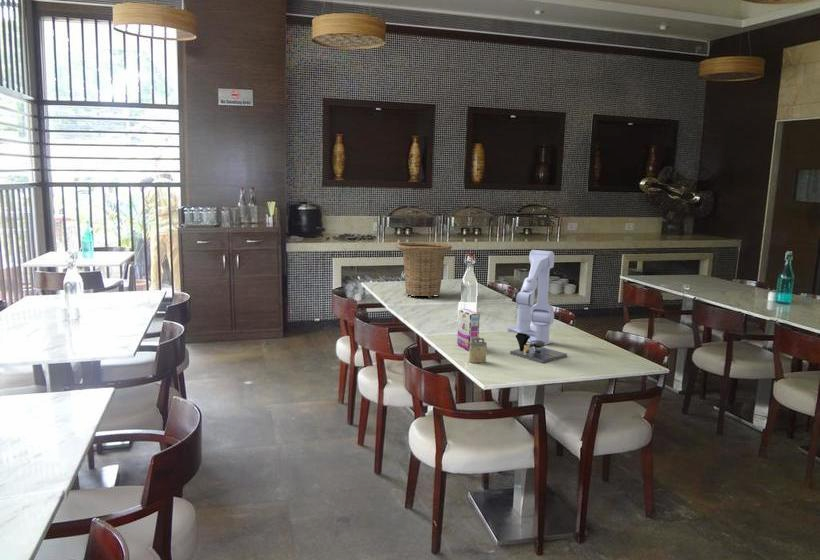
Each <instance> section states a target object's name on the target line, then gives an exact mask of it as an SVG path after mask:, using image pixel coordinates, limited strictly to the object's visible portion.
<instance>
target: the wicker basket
mask: <svg viewBox="0 0 820 560" xmlns="http://www.w3.org/2000/svg"><path fill="white" fill-rule="evenodd" d="M452 248H453V246H452V245H451V244H448V243H443V242H431V241H429V242H427V241H405V242H404V241H403V242H398V243H397V244H396V249H398V250H400V251H401V253H402V257H403V267H404V268H403V269H404V281H405V282H404V283H405V284H404V285H405V295H406V294H408V295H414V297H415V296H434V295H438V294H439V293H440V292H441V286H442V279H443V269H444V263H445V262H444V261H445V256H446V254H447V252H449V251H451V250H452ZM439 295H440V294H439Z"/></svg>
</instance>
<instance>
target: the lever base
mask: <svg viewBox="0 0 820 560" xmlns="http://www.w3.org/2000/svg"><path fill="white" fill-rule="evenodd" d="M509 352H510V353H509V354H510V355H512V354H513V355H512V356H516V355H517V356H516V357H519V356H520V358H524V359H526V358H527V359H526V360H531V361H534V362H538V363H541V364H544V363H547V362H551V361H555V359H556V360H558V359H562V358H565V357H566V358H567V357H568V354H567V353H566V352H562V351H560V350H559V351H558V350H554V349H551V348H548V347H545V346H544V347H534V346H533V347H530V348H529V353H523V352H524V351H522V352H521V351H520V348H518V349H513V350H510V351H509Z"/></svg>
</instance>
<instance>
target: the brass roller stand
mask: <svg viewBox="0 0 820 560" xmlns="http://www.w3.org/2000/svg"><path fill="white" fill-rule="evenodd" d="M533 346H534V347H544V348H545V346H546V345H545V342H544V341H539V340H533V341H531V342H530V343H526V344H524V352H523V353H529V348H530V347H533Z"/></svg>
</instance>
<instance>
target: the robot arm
mask: <svg viewBox="0 0 820 560" xmlns="http://www.w3.org/2000/svg"><path fill="white" fill-rule="evenodd" d="M528 259H529V264H530V267H529V268H530V270H529V272H528V277H525V278H524V279H523V283H522V286H521V289H520V291H518V292H517V293H516V298H515V304H516V309H517V312H516V313H517V314H516V315H517V317H516V327H515V326H508V327H507V332H508V333H514V334H515V338H516V341H517V343H518V347H519V349H520V351H521V352H522V351H524V344H528V343H531V341H533V340H539V341H544V342H545V346H546V345H549V344H553V341H550V326H551V325H552V324H553V322H554V319H555V311H554V309H555V308H554V306H552V305H551V304H550V303H549V287H550V286H549V285H550V270H551V269H553V268H554V265H555V253H554V252H553V250H541V249H540V250H537V249H531V250H530V252H529V256H528ZM536 289H537V300H536V303H535V304H534V302H535V295H536V294H535V292H536Z"/></svg>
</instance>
